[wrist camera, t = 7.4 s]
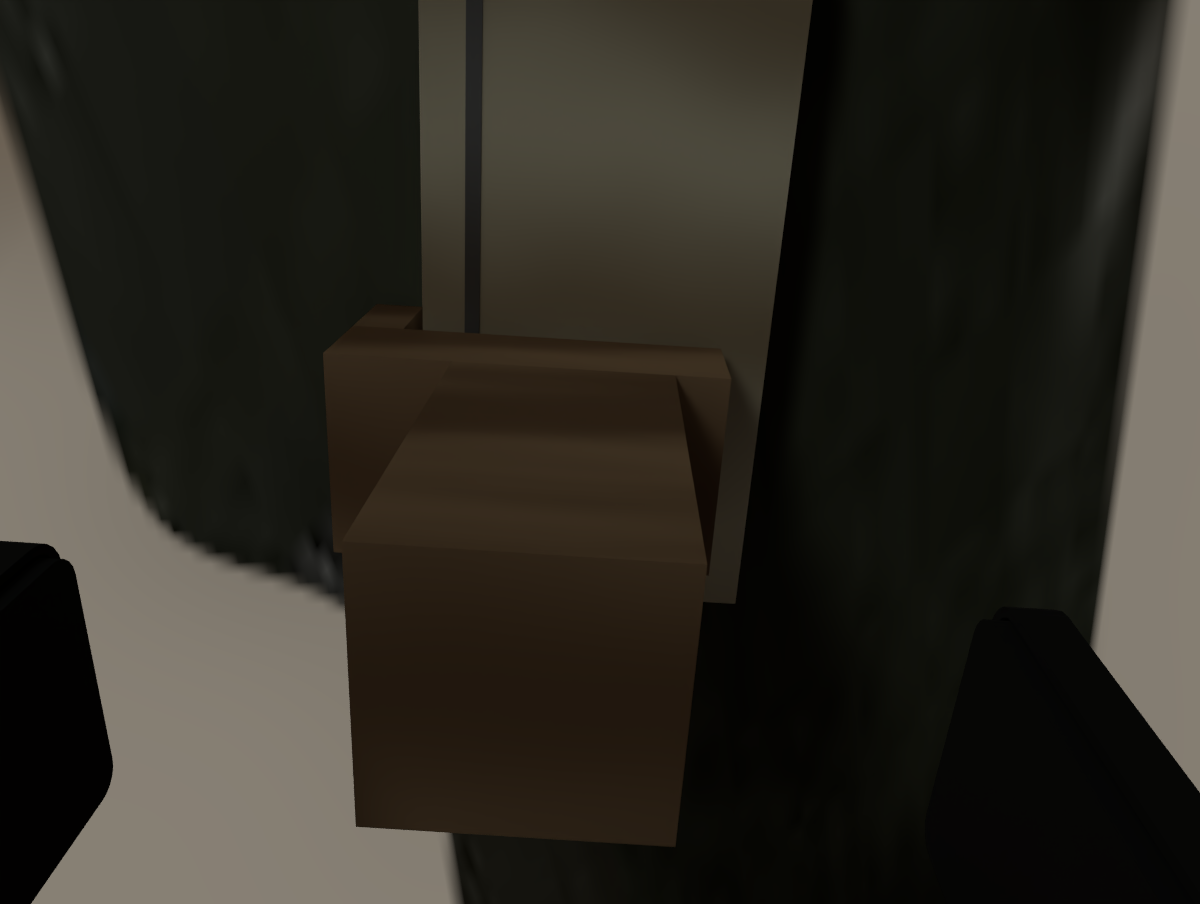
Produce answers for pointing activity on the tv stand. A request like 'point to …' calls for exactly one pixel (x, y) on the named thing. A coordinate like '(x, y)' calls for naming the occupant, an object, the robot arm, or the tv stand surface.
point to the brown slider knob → (521, 574)
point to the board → (615, 185)
